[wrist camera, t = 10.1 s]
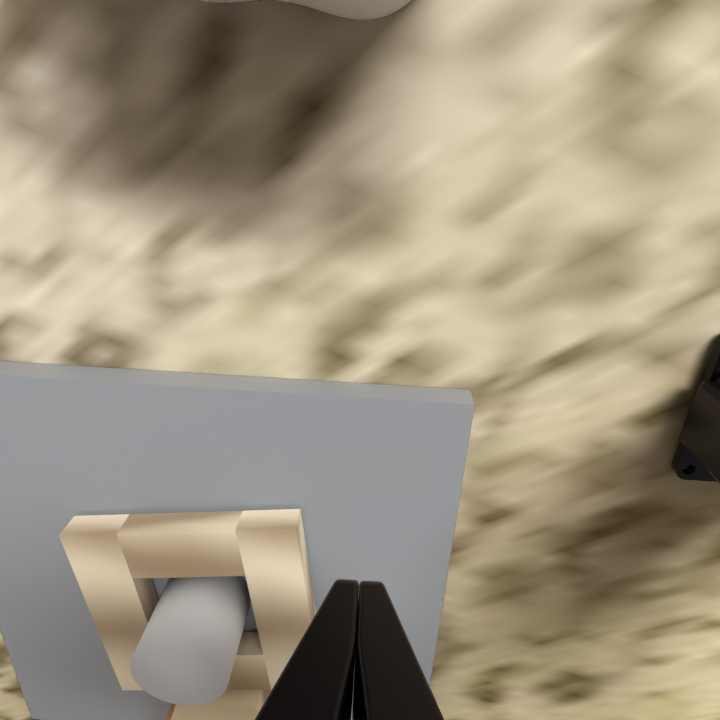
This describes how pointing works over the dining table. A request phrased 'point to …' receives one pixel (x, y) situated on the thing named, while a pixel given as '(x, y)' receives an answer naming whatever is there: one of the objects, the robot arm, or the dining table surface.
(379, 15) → the lumpy-topped squat cylinder
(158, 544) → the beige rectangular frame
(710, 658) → the dining table surface
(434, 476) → the board
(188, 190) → the dining table surface
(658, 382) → the dining table surface
